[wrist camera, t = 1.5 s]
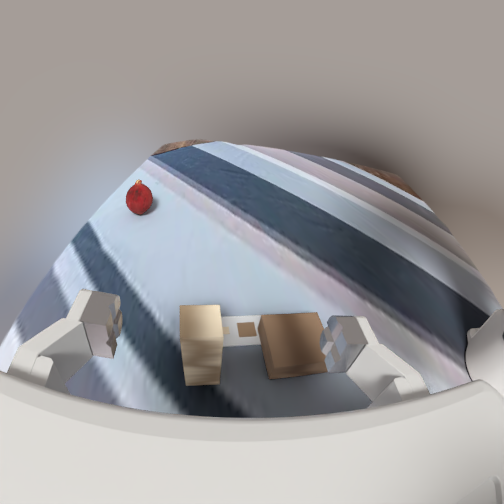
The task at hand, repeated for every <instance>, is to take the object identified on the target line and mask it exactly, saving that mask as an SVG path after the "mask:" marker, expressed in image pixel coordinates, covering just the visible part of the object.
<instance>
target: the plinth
mask: <svg viewBox="0 0 504 504" xmlns="http://www.w3.org/2000/svg"><path fill="white" fill-rule="evenodd" d="M323 330H324V328H323V326H322V323H321V321H320V318H319V316H318V314H317V312H316V313H298V314H275V315H261V318H260V322H259V325H258V334H259V338H260V342H261V347H262V351H263V355H264V360H265V364H266V368H267V373H268V377H269V379H277V378H287V377H295V376H303V375H311V374H318V373H324V372H328V370H327V367H326V364H325V361H324V360H325V357H326V355H325V354H324V353H322V352H321V348H320V335H321V333H322V331H323Z"/></svg>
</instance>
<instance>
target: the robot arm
mask: <svg viewBox="0 0 504 504" xmlns="http://www.w3.org/2000/svg"><path fill="white" fill-rule="evenodd" d="M119 306H120V297H119V296H118V295H114V294H109V293H103V292H98V291H91V290H86V289H81V290H80V291H79V293H78V295H77V297H76V299H75V301H74V303H73V305H72V307H71V309H70V311H69V313H68V315H67V317H66V319H65V318H62V319H60V320H59V321H57V322H56V323H54V324H53V325H51V326H50V327H48V328H46V329H45V330H43V331H42V332H40V333H39V334H37V335H36V336H34V337H33V338H31V339H30V340H28V341H27V342H25V343H24V344H23V345H21V346H20V347H18V349H17V352H16V354H15V356H14V358H13V360H12V362H11V365H10V367H9V369H8V372H7V373H5V372H2V371H0V504H504V309H500V310H498V309H497V310H496V311H495V312H494V313H493V314H492V315H491V316H490V317H489V318H488V320H487V321H486V322H485V323H484V324H483V325H482V326H481V328H472V329H470V330H469V331H468V332H467V339H468V346H467V349H466V364H467V368H468V371H469V374H470V376H471V379H472V380H473V381H472V382H469V383H466V384H463V385H460V386H457V387H454V388H451V389H447V390H444V391H441V392H437V393H434V394H430V393H429V391H428V389H427V387H426V385H425V383H424V381H423V379H422V377H421V375H420V373H419V372H417V371H416V370H415V369H414V368H412V367H411V366H410V365H409V364H407V363H406V362H405V361H403V360H402V359H401V358H400V357H398V356H397V355H396V354H394V353H393V352H392V351H391V350H389V349H388V348H387V347H385V346H384V345H383V344H379V342H378V340H377V338H376V336H375V334H374V332H373V331H372V329H371V327H370V325H369V323H368V321H367V319H366V318H365V317H364V316H331V317H330V318H329V320H328V321H327V324H328V327H327V328H325V329H324V330H323V331H322V333H321V335H320V348H321V352H322V353H324V354H325V355H326V357H325V360H324V361H325V364H326V367H327V370H328V373H341V372H346V374H347V375H348V376H349V377H350V378H351V379H352V380H353V381H354V382H355V383H356V385H357V386H358V387H359V388H360V389H361V390H362V391H363V392H364V393H365V394H366V395H367V396H368V397H369V399H370V400H371V401H372V403H371V404H370V405H369V406H368V407H367V408H366V409H360V410H353V411H346V412H338V413H330V414H320V415H309V416H296V417H276V418H223V417H203V416H189V415H179V414H169V413H161V412H153V411H146V410H140V409H134V408H128V407H122V406H117V405H112V404H107V403H102V402H98V401H93V400H89V399H85V398H81V397H77V396H73V395H71V394H70V393H69V391H68V389H67V387H66V386H65V383H66V382H67V381H68V380H69V379H70V378H71V377H72V376H73V375H74V374H75V373H76V372H77V371H78V370H79V369H80V368H81V367H82V366H83V365H84V364H85V363H86V362H87V361H88V360H90V359H91V358H92V357H93V356H92V355H94V356H99V357H105V358H111V359H113V358H114V355H115V351H116V347H117V342H116V338H118V337H119V336H120V333H121V328H122V312H121V311H120V310H119Z"/></svg>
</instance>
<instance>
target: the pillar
mask: <svg viewBox="0 0 504 504" xmlns="http://www.w3.org/2000/svg"><path fill="white" fill-rule="evenodd" d="M223 338H224V336H223V328H222V320H221V313H220V305H180V343H181V352H182V360H183V367H184V375H185V382H186V386H188V385H216V384H220V374H221V362H222V350H223Z"/></svg>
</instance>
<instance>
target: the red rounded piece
mask: <svg viewBox="0 0 504 504" xmlns="http://www.w3.org/2000/svg"><path fill="white" fill-rule="evenodd" d="M141 182H142V181H141V180H137V181H136V183H135V185H133V186H132V187H131V188H130V189H129V190H128V192H127V195H126V204H127V206H128V208H129V209H130V210H131V211H132V212H134V213H136V214H139V215H141V214H143V213H144V212H145V211H147V210H148V209H149V208H150V206H151V204H152V201H153V197H152V193H151V190H150V189H149V188H148V187H147V186H145V185H144V184H142V183H141Z"/></svg>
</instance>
